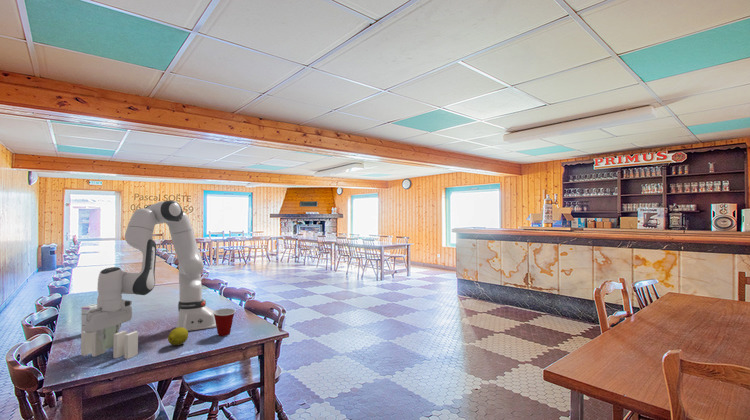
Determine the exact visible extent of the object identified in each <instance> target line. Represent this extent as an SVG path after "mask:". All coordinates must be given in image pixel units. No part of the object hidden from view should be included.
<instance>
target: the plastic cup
mask: <svg viewBox="0 0 750 420" xmlns="http://www.w3.org/2000/svg"><path fill="white" fill-rule="evenodd" d="M235 313H236V309H234V308H226V307H225V308H218V309H216V310H213V314H214V316H215V322H216V327H215V328H216V330H217V331H216V333H217V335H218V336H220V337H225V336H229V335H230V334H231V330H232V325H233V320H234V315H235Z"/></svg>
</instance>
